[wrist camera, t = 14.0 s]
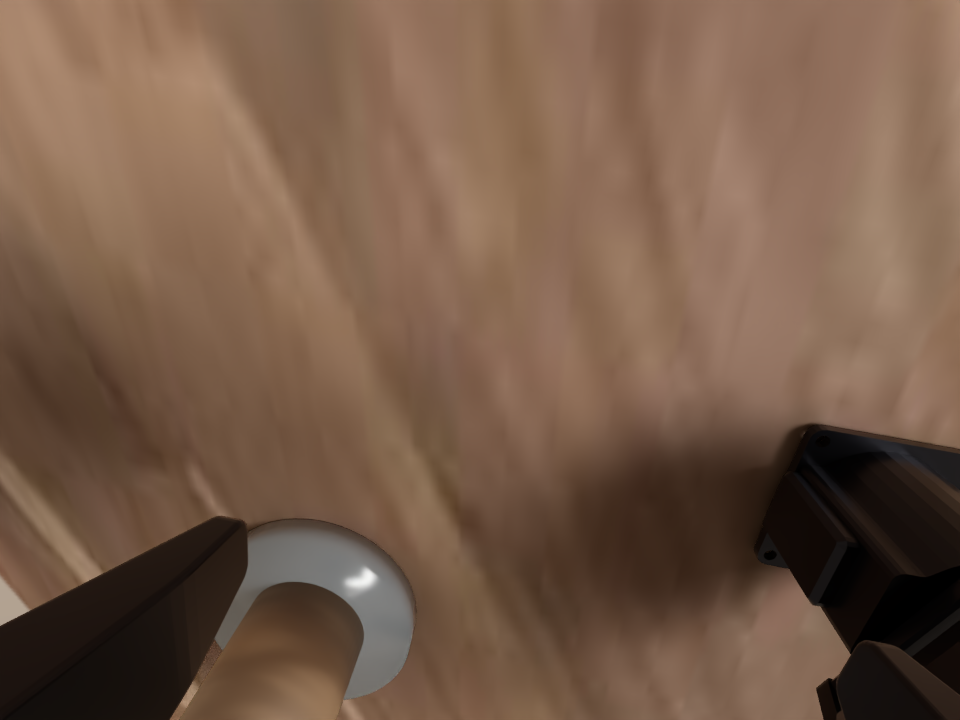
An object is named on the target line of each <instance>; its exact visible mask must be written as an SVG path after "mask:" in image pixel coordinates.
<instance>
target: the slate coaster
mask: <svg viewBox="0 0 960 720" xmlns="http://www.w3.org/2000/svg"><path fill="white" fill-rule="evenodd" d="M285 582H303V583H309V584H313V585H317V586H320V587H323V588H325V589H327V590H329V591H332V592H333V593H335V594H337V595H338V596H340V597H341V598H342V599H344V600H345V601H346V602H347V603H348V604H349V605H350V606H351V607H352V608H353V609H354V610H355V612H356V613H357V615H358V616H359V618H360V620H361V623H362V626H363V630H364V641H363V645H362V648H361V651H360V654H359V657H358V659H357V662H356V665H355V668H354V671H353V674H352V676H351V679H350V682H349V685H348V688H347V691H346V693H345V696H344V699H343V700H346V699H353V698H357V697H361V696H364V695H367V694H370V693H372V692H375V691H376V690H378V689H380V688H382V687H384V686H385V685H386V684H388V683H389V682H390V681H391V680H392V679H393V678H394V677H395V676H396V675H397V674H398V673H399V671H400V670H401V668H402V667H403V665H404V663H405V661H406V659H407V656H408V652H409V648H410V644H411V640H412V636H413V632H414V628H415V624H416V616H417V609H416V600H415V597H414V593H413V590H412V588H411V586H410V583H409V581H408V579H407V578H406V576H405V575H404V573H403V571H402V570H401V569H400V567H399V566H398V565H397V564H396V562H395V561H394V560H393V559H392V558H391V557H390V556H389V555H388V554H387V553H386V552H385V551H383V550H382V549H381V548H379V547H378V546H377V545H376V544H374V543H373V542H371V541H370V540H368V539H366V538H365V537H363V536H361V535H359V534H357V533H355V532H353V531H351V530H349V529H346V528H343V527H341V526H338V525H335V524H331V523H327V522H323V521H316V520H309V519H288V520H279V521H275V522H270V523H267V524H264V525H261V526H258V527H256V528H255V529H253V530H251V531H249V532H248V568H247V572H246V575H245V578H244V580H243V582H242V584H241V586H240V588H239V590H238V592H237V594H236V596H235V598H234V600H233V602H232V604H231V606H230V608H229V610H228V612H227V614H226V616H225V618H224V620H223V622H222V624H221V626H220V628H219V630H218V632H217V634H216V636H215V641H216V642H217V644H218V645H219V647H220V648H221V649H222V650H223V649H224V648H225V646H226V645H227V643H228V642H229V640H230V638H231V637H232V635H233V634H234V632H235V630H236V629H237V627H238V626H239V624H240V622H241V621H242V619H243V618H244V616H245V615H246V613H247V611H248V610H249V608H250V607H251V605H252V603H253V602H254V600H255V599H256V598H257V596H258V595H259V594H260V593H261V592H262V591H264V590H265V589H267V588H269V587H271V586H273V585H276V584H279V583H285Z"/></svg>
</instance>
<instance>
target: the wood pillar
mask: <svg viewBox="0 0 960 720" xmlns="http://www.w3.org/2000/svg"><path fill="white" fill-rule="evenodd" d="M363 641H364V630H363V626H362V623H361V620H360V618H359V616H358V615H357V613H356V612H355V610H354V609H353V608H352V607H351V606H350V605H349V604H348V603H347V602H346V601H345V600H344V599H342V598H341V597H340V596H338V595H337V594H335V593H333V592H332V591H329V590H327V589H325V588H323V587H320V586H317V585H313V584H309V583H303V582H285V583H279V584H276V585H273V586H271V587H269V588H267V589H265V590H264V591H262V592H261V593H260V594H259V595H258V596H257V598H256V599H255V600H254V602H253V603H252V605H251V607H250V608H249V610H248V611H247V613H246V615H245V616H244V618H243V619H242V621H241V622H240V624H239V626H238V627H237V629H236V630H235V632H234V634H233V635H232V637H231V638H230V640H229V642H228V643H227V645H226V646H225V648H224V649H223V651H222V653H221V654H220V656H219V657H218V659H217V661H216V662H215V664H214V665H213V667H212V668H211V670H210V672H209V673H208V675H207V676H206V678H205V680H204V681H203V683H202V684H201V686H200V688H199V689H198V691H197V692H196V694H195V695H194V697H193V699H192V700H191V702H190V703H189V705H188V707H187V708H186V710H185V711H184V713H183V714H182V716H181V718H180V719H179V720H336V719H337V716H338V713H339V710H340V707H341V705H342V702H343V699H344V696H345V693H346V691H347V688H348V685H349V682H350V679H351V676H352V674H353V671H354V668H355V665H356V662H357V659H358V657H359V654H360V651H361V648H362V645H363Z"/></svg>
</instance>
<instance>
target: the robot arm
mask: <svg viewBox="0 0 960 720" xmlns="http://www.w3.org/2000/svg"><path fill="white" fill-rule="evenodd" d="M820 436H825V437H824V439H823V440H822V441H820V442H816V440H817V438H818V437H820ZM762 524H763V528H762V530H761V532H760V535H759V537H758V539H757V541H756V544H755V546H754V552H755V554H756V556H757V558H758V560H759V561H760V562H761V563H764V564H767V565H772V566H777V567H782V568H788V569H790V571H791V572H792V574H793V576H794V577H795V579H796V581H797V582H798V584H799V585H800V587H801V589H802V590H803V592H804V594H805V595H806V597H807V598H808V600H809V601H810V603H811V604H812V605H815V606H820V607H821V608H822V610H823V611H824V613H825V614H826V616H827V618H828V619H829V621H830V622H831V624H832V625H833V627H834V629H835V630H836V632H837V633H838V635H839V637H840V638H841V640H842V641H843V643H844V644H845V646H846V648H847V649H848V651H849V652H850V654H851V656H850V657H849V659H848V661H847V662H846V664H845V666H844V667H843V669H842V671H841V672H840V674H839V675H838V676H837V677H835V678H834V679H830V678H828V679H827V680H826V681H824V682H823V683H822V684H821V685H819V686H818V687H817V688H816V690H817V694H818V698H819V702H820V706H821V711H822V715H823V719H824V720H960V450H959V449H954V448H948V447H943V446H937V445H932V444H926V443H920V442H915V441H909V440H904V439H898V438H893V437H887V436H881V435H876V434H870V433H865V432H859V431H854V430H848V429H842V428H837V427H831V426H826V425H815V426H812V427H811V428H809V429H808V430H807V431H806V432H805V434H804V436H803V438H802V440H801V443H800V445H799V447H798V449H797V452H796V454H795V456H794V458H793V461H792V463H791V465H790V467H789V470H788V472H787V473H786V474H785V475H784V476H783V478H782V480H781V482H780V484H779V487H778V489H777V491H776V493H775V496H774V498H773V500H772V502H771V505H770V507H769V509H768V511H767V514H766V516H765V518H764V520H763V523H762ZM769 550H772V551H771V552H769V553H765V552H766V551H769ZM247 568H248V530H247V525H246V523H245V521H243V520H241V519H236V518H231V517H225V516H216V517H214V518H211V519H209V520H207V521H205V522H203V523H201V524H200V525H198V526H196V527H194V528H192V529H190V530H188V531H186V532H184V533H182V534H180V535H178V536H176V537H174V538H172V539H170V540H168V541H166V542H164V543H162V544H160V545H158V546H156V547H154V548H152V549H150V550H148V551H146V552H145V553H143V554H141V555H139V556H137V557H135V558H133V559H131V560H129V561H127V562H125V563H123V564H121V565H119V566H117V567H115V568H113V569H111V570H109V571H107V572H105V573H103V574H101V575H99V576H97V577H95V578H93V579H91V580H89V581H88V582H86V583H84V584H82V585H80V586H78V587H76V588H74V589H72V590H70V591H68V592H66V593H64V594H62V595H60V596H58V597H56V598H54V599H52V600H50V601H48V602H46V603H44V604H42V605H40V606H38V607H36V608H34V609H33V610H31V611H29V612H27V613H25V614H23V615H21V616H19V617H17V618H15V619H13V620H11V621H9V622H7V623H5V624H3V625H1V626H0V720H170V718H171V717H172V715H173V713H174V712H175V710H176V709H177V707H178V705H179V704H180V702H181V701H182V699H183V697H184V695H185V694H186V692H187V690H188V689H189V687H190V685H191V684H192V682H193V680H194V678H195V676H196V674H197V672H198V670H199V668H200V667H201V665H202V663H203V661H204V659H205V657H206V655H207V653H208V651H209V649H210V647H211V645H212V643H213V641H214V639H215V636H216V634H217V632H218V630H219V628H220V626H221V624H222V622H223V620H224V618H225V616H226V614H227V612H228V610H229V608H230V606H231V604H232V602H233V600H234V598H235V596H236V594H237V592H238V590H239V588H240V586H241V584H242V582H243V580H244V578H245V575H246V572H247Z"/></svg>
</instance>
